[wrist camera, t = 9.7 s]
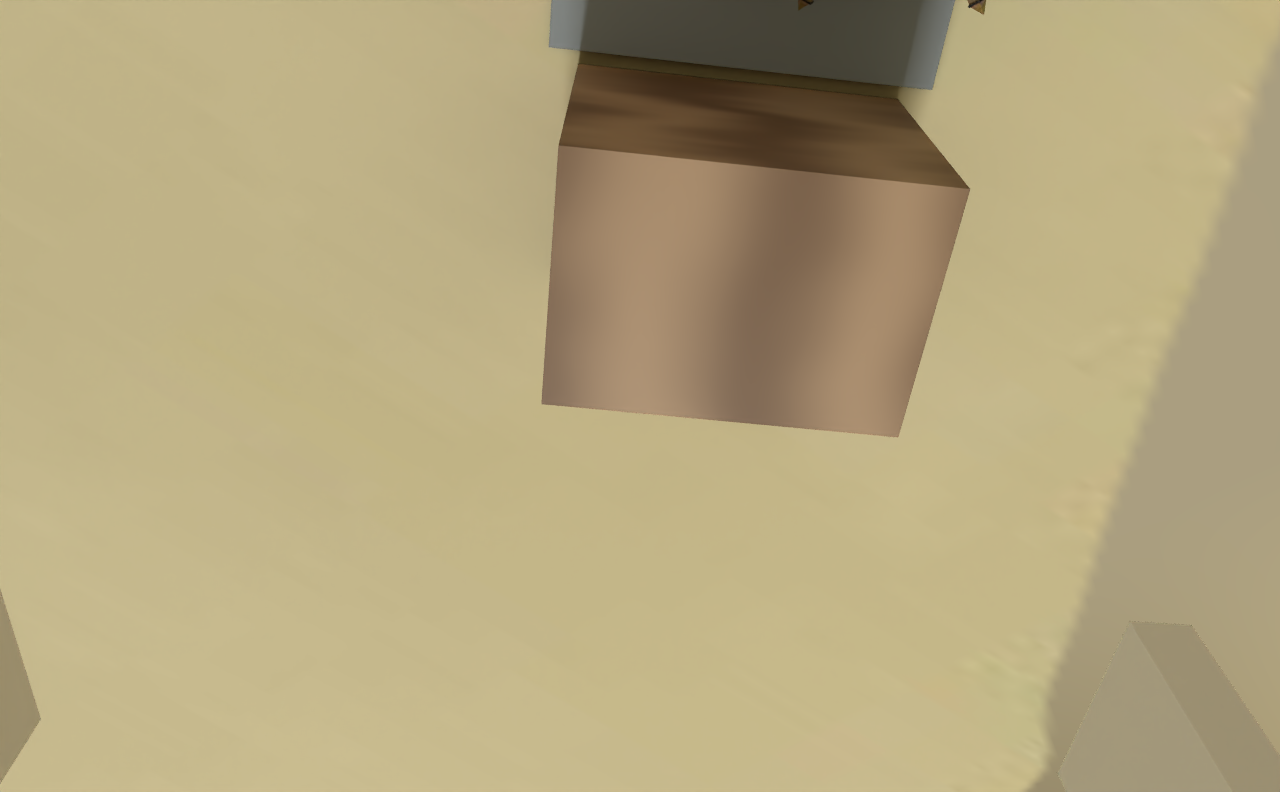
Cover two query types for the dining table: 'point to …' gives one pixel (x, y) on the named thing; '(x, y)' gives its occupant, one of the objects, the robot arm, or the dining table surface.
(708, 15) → the mat
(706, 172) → the cardboard box
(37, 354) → the dining table surface
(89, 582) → the dining table surface
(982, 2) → the game die
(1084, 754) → the robot arm
